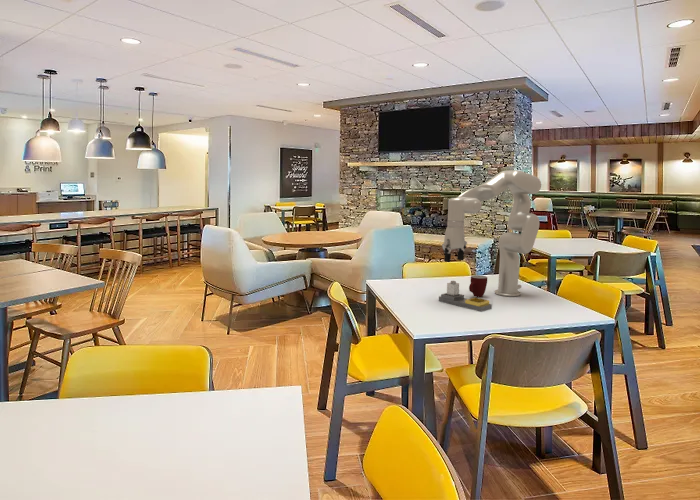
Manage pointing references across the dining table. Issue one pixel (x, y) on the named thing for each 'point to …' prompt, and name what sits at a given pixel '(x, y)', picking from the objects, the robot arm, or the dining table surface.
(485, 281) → the mug
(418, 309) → the dining table surface
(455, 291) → the knobbed metal block
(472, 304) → the grey flat elongated piece
